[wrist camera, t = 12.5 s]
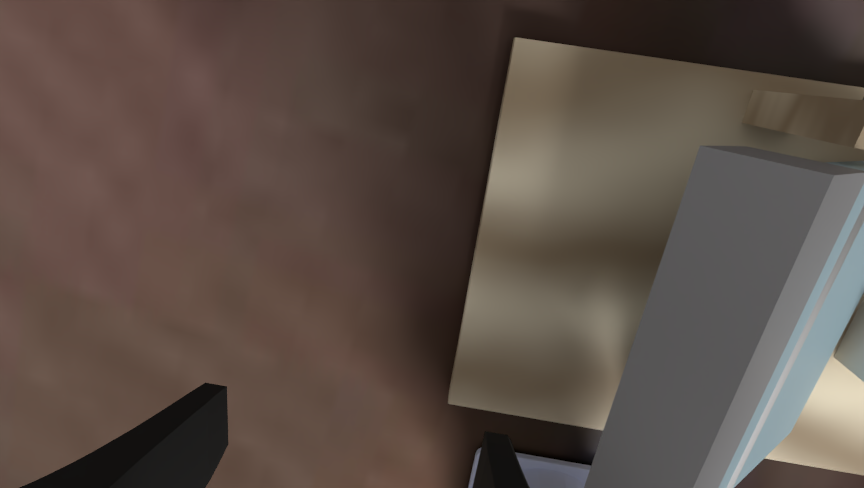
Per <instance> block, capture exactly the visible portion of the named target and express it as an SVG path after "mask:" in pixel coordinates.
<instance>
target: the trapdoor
mask: <svg viewBox="0 0 864 488" xmlns="http://www.w3.org/2000/svg"><path fill="white" fill-rule="evenodd" d="M863 293H864V161H847V162H819V161H814V160H809V159H805V158H800V157H795V156H790V155H785V154H781V153H776V152H771V151H766V150H762V149H757V148H752V147H747V146H700V147H699V150H698V153H697V156H696V159H695V162H694V165H693V168H692V171H691V173H690V176H689V179H688V182H687V185H686V188H685V191H684V194H683V197H682V200H681V203H680V206H679V209H678V212H677V215H676V218H675V221H674V224H673V227H672V229H671V232H670V235H669V238H668V241H667V244H666V247H665V250H664V253H663V256H662V259H661V262H660V265H659V268H658V271H657V274H656V277H655V280H654V282H653V285H652V288H651V291H650V294H649V297H648V300H647V303H646V306H645V309H644V312H643V315H642V318H641V321H640V324H639V327H638V330H637V333H636V336H635V338H634V341H633V344H632V347H631V350H630V353H629V356H628V359H627V362H626V365H625V368H624V371H623V374H622V377H621V380H620V383H619V386H618V389H617V392H616V394H615V397H614V400H613V403H612V406H611V409H610V412H609V415H608V418H607V421H606V424H605V427H604V430H603V433H602V436H601V439H600V442H599V445H598V448H597V450H596V453H595V456H594V459H593V462H592V465H591V468H590V471H589V474H588V477H587V480H586V483H585V486H584V488H734V487H735V486H736V485H737V484H738V483H739V482H740V481H741V480H742V479H743V478H744V477H745V476H746V475H748V474H749V473H750V472H751V471H752V470H753V469H754V468H755V467H756V466H757V465H758V464H759V463H760V462H761V461H762V460H763V459H764V458H765V457H766V456H767V455H768V454H769V453H770V452H771V451H772V450H773V449H774V448H775V447H776V446H777V445H778V444H779V443H780V442H781V441H782V440H783V439H784V438H785V437H787V436H788V435H789V434H790V433H791V431H792V429H793V427H794V425H795V423H796V421H797V420H798V418H799V416H800V414H801V412H802V410H803V408H804V406H805V404H806V402H807V400H808V398H809V397H810V395H811V393H812V391H813V389H814V387H815V385H816V383H817V381H818V379H819V377H820V375H821V374H822V372H823V370H824V368H825V366H826V364H827V362H828V360H829V358H830V356H831V354H832V353H833V351H834V349H835V347H836V345H837V343H838V341H839V339H840V337H841V335H842V333H843V331H844V330H845V328H846V326H847V324H848V322H849V320H850V318H851V316H852V314H853V312H854V310H855V308H856V307H857V305H858V303H859V301H860V299H861V297H862V295H863Z"/></svg>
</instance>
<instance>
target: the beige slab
mask: <svg viewBox="0 0 864 488" xmlns="http://www.w3.org/2000/svg"><path fill="white" fill-rule="evenodd" d="M700 146H747V147H752V148H757V149H762V150H766V151H771V152H776V153H781V154H785V155H790V156H795V157H800V158H805V159H809V160H814V161H819V162H847V161H864V88H862V87H855V86H848V85H842V84H835V83H828V82H821V81H814V80H807V79H800V78H793V77H786V76H779V75H772V74H766V73H759V72H752V71H745V70H738V69H731V68H724V67H717V66H710V65H703V64H696V63H689V62H683V61H676V60H669V59H662V58H655V57H648V56H641V55H634V54H627V53H620V52H613V51H607V50H600V49H593V48H586V47H579V46H572V45H565V44H558V43H551V42H544V41H537V40H531V39H524V38H517V37H515V38H513V43H512V49H511V54H510V60H509V65H508V71H507V76H506V82H505V87H504V93H503V98H502V104H501V109H500V114H499V120H498V125H497V131H496V136H495V142H494V147H493V153H492V158H491V164H490V169H489V175H488V180H487V186H486V191H485V196H484V202H483V207H482V213H481V218H480V224H479V229H478V235H477V240H476V246H475V251H474V257H473V262H472V268H471V273H470V279H469V284H468V289H467V295H466V300H465V306H464V311H463V317H462V322H461V328H460V333H459V339H458V344H457V350H456V355H455V361H454V366H453V371H452V377H451V382H450V388H449V396H448V404H452V405H458V406H463V407H469V408H475V409H481V410H487V411H492V412H498V413H504V414H510V415H516V416H522V417H527V418H533V419H539V420H545V421H551V422H556V423H562V424H568V425H574V426H580V427H585V428H591V429H597V430H604V427H605V424H606V421H607V418H608V415H609V412H610V409H611V406H612V403H613V400H614V397H615V394H616V392H617V389H618V386H619V383H620V380H621V377H622V374H623V371H624V368H625V365H626V362H627V359H628V356H629V353H630V350H631V347H632V344H633V341H634V338H635V336H636V333H637V330H638V327H639V324H640V321H641V318H642V315H643V312H644V309H645V306H646V303H647V300H648V297H649V294H650V291H651V288H652V285H653V282H654V280H655V277H656V274H657V271H658V268H659V265H660V262H661V259H662V256H663V253H664V250H665V247H666V244H667V241H668V238H669V235H670V232H671V229H672V227H673V224H674V221H675V218H676V215H677V212H678V209H679V206H680V203H681V200H682V197H683V194H684V191H685V188H686V185H687V182H688V179H689V176H690V173H691V171H692V168H693V165H694V162H695V159H696V156H697V153H698V150H699V147H700ZM863 299H864V293H863V295H862V297H861V299H860V301H859V303H858V305H857V307H856V308H855V310H854V312H853V314H852V316H851V318H850V320H849V322H848V324H847V326H846V328H845V330H844V331H843V333H842V335H841V337H840V339H839V341H838V343H837V345H836V347H835V349H834V351H833V353H832V354H831V356H830V358H829V360H828V362H827V364H826V366H825V368H824V370H823V372H822V374H821V375H820V377H819V379H818V381H817V383H816V385H815V387H814V389H813V391H812V393H811V395H810V397H809V398H808V400H807V402H806V404H805V406H804V408H803V410H802V412H801V414H800V416H799V418H798V420H797V421H796V423H795V425H794V427H793V429H792V431H791V433H790V434H789V435H788V436H787V437H785V438H784V439H783V440H782V441H781V442H780V443H779V444H778V445H777V446H776V447H775V448H774V449H773V450H772V451H771V452H770V453H769V454H768V455H767V456H766V457H765V458H766V459H771V460H777V461H783V462H789V463H795V464H801V465H806V466H812V467H818V468H824V469H830V470H835V471H841V472H847V473H853V474H859V475H864V382H863V381H862V380H861V379H859V378H858V377H857V376H856V375H855V374H853V373H852V372H851V371H850V370H849V369H847V368H846V367H845V366H844V365H843V364H841V363H840V362H839V361H838V360H836V359H835V358H834V355H835V353H836V351H837V349H838V347H839V346H840V344H841V342H842V340H843V338H844V336H845V334H846V332H847V330H848V328H849V326H850V324H851V322H852V320H853V318H854V316H855V314H856V312H857V310H858V308H859V306H860V304H861V302H862V301H863Z"/></svg>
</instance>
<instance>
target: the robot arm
mask: <svg viewBox="0 0 864 488" xmlns="http://www.w3.org/2000/svg"><path fill="white" fill-rule="evenodd" d="M227 445H228V416H227V387H226V386H221V385H215V384H209V383H204V384H203V385H201V386H200V387H198V388H196V389H195V390H193V391H192V392H190V393H189V394H187V395H185V396H184V397H182V398H181V399H179V400H178V401H176V402H175V403H173V404H172V405H170V406H169V407H167V408H165V409H164V410H162V411H161V412H159V413H158V414H156V415H154V416H153V417H151V418H150V419H148V420H146V421H145V422H143V423H142V424H140V425H138V426H137V427H135V428H134V429H132V430H130V431H129V432H127V433H125V434H123V435H122V436H120V437H118V438H116V439H115V440H113V441H111V442H109V443H108V444H106V445H104V446H103V447H101V448H99V449H97V450H96V451H94V452H92V453H90V454H88V455H86V456H85V457H83V458H81V459H79V460H77V461H75V462H73V463H71V464H69V465H67V466H65V467H63V468H61V469H59V470H57V471H55V472H53V473H51V474H49V475H47V476H45V477H43V478H40V479H38V480H36V481H34V482H32V483H29V484H27V485H25V486H22V487H20V488H205V487H206V485H207V484H208V482H209V481H210V479H211V477H212V475H213V473H214V471H215V469H216V468H217V466H218V464H219V462H220V460H221V458H222V456H223V454H224V451H225V449H226V447H227ZM590 468H591V466H590V465H585V464H579V463H573V462H568V461H562V460H556V459H550V458H545V457H539V456H533V455H528V454H522V453H516V452H515V451H514V448H513V445H512V442H511V439H510V438H509V437H508V435H503V434H497V433H492V432H486V431H485V434H484V438H483V443H482V447H481V448H479V449H478V450H477V451H476V453H475V458H474V463H473V467H472V472H471V476H470V481H469V485H468V488H584V486H585V483H586V480H587V477H588V474H589V471H590Z"/></svg>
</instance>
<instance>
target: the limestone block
mask: <svg viewBox="0 0 864 488" xmlns="http://www.w3.org/2000/svg"><path fill="white" fill-rule="evenodd" d="M834 358H835V359H836V360H838V361H839V362H840V363H841V364H843V365H844V366H845V367H846V368H847V369H849V370H850V371H851V372H852V373H853V374H855V375H856V376H857V377H858V378H859V379H861V380H862V381H863V382H864V299H863V301H862V302H861V304H860V306H859V308H858V310H857V312H856V314H855V316H854V318H853V320H852V322H851V324H850V326H849V328H848V330H847V332H846V334H845V336H844V338H843V340H842V342H841V344H840V346H839V347H838V349H837V351H836V353H835V355H834Z"/></svg>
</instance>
